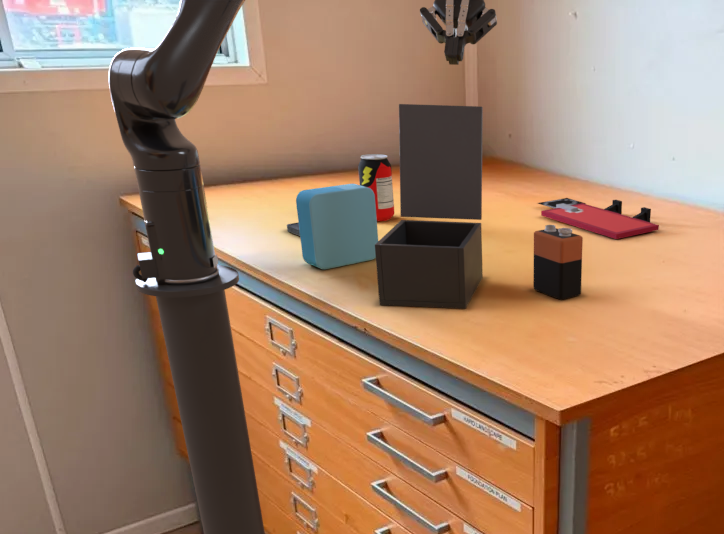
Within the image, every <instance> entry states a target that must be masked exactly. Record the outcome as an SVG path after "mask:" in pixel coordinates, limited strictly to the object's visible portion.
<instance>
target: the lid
mask: <svg viewBox="0 0 724 534" xmlns="http://www.w3.org/2000/svg"><path fill="white" fill-rule="evenodd" d="M483 108H484V107H483V106H481V105H480V106H479V105H478V106H475V105H444V104H443V105H442V104H417V103H416V104H415V103H414V104H413V103H412V104H411V103H408V104H407V103H399V104H398V141H399V201H400V202H399V203H400V204H399V206H400V207H399V209H400V210H399V211H400V217H401V218H423V219H445V220H448V219H449V220H450V219H451V220H476V221H477V220H478V221H481V220H482V217H483V216H482V215H483V118H484V117H483V113H484V112H483V111H484V109H483Z"/></svg>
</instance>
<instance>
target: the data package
mask: <svg viewBox="0 0 724 534" xmlns="http://www.w3.org/2000/svg"><path fill="white" fill-rule="evenodd" d="M295 204H296V213H297V220H298V221H297V223H298V222H299V230H300V236H299V237H300V245H301V255H302V259H303V261H304V262H305V263H306V264H308V265H311V266H313V267H316V268H318V269H320V270H330V269H334V268H335V269H336V268H339V267H345V266H349V265H353V264H359V263H364V262H368V261H374V260H376V255H375V244H376V243H377V242H378V241H379V232H378V231H379V230H378V221H377V218H376V205H375V195H374V192H373V191H372V190H371V189H370V188H368V187H364V186H361V185H360V184H356V183H346V184H339V185H331V186H324V187H316V188H310V189H303V190H300V191H299V192H298V193H297V195H296V199H295Z"/></svg>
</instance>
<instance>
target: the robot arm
mask: <svg viewBox="0 0 724 534" xmlns="http://www.w3.org/2000/svg"><path fill="white" fill-rule="evenodd" d="M245 2H246V0H180V1H179V8H178V11H177V14H176V17H175V19H174V21H173V23H172V25H171V26H170V28H169V29H168V31H167V33H166V34H165V36H164V37H163V39H162V41H160V42H159V44H158V45H157V46H156V47H155V48H145V47H130V48H124V49H122V50H121V51H119V52H117V53H116V54H115V55H114V57H112V60H111V62H110V65H109V69H108V86H109V87H108V88H109V93H110V98H111V102H112V106H113V110H114V115H115V118H116V121H117V126H118V129H119V134H120V137H121V140H122V143H123V145H124V147H125V149H126V151H127V152H128V153H129V155H130V157H131V161H132V166H133V169H134V175H135V179H136V184H137V189H138V194H139V200H140V205H141V210H142V215H143V221H144V226H145V231H146V236H147V241H148V246H149V251H148V252H147V251H146V252H138V253H137V254H136V255H137V260H138V264H136V265H135V267H134V268H133V269H132V275H133V277H134V278H135V279H138V280H141V281H143V282H146V281H147V280H148V278H155V279H156V281H157V285H192V284H199V283H203V282H207V281H211V280H213V279H215V278H217V277H218V276H219V271H218V268H217V265H219V259H218V254H216V252H215V246H214V240H213V234H212V228H211V221H210V214H209V209H208V204H207V197H206V191H205V186H204V179H203V173H202V168H201V162H200V155H199V151H198V148H197V146H196V145H195V144H194V143H193V142H192V141H191V140H189V139H188V137H186V136H185V135H184V134H183V133H182V131H181V130H180V128H179V127H178V125H177V120H178V119H180V118H183V117H185V116H186V115H188V114H190V112H191V111H192V110H193V109H194V107H195V106H196V105H197V102H198V100H199V98H200V96H201V94H202V92H203V89H204V86H205V84H206V81H207V79H208V76H209V74H210V71H211V69H212V67H213V63H214V61H215V59H216V56H217V54H218V52H219V50H220V47H221V45H222V43H223V42H224V40H225V38H226V36H227V34H228V32H229V31H230V29H231V27H232V25H233V23H234V21H235V19H236V18H237V15H238V13H239V11H240V10H241V8H242V6H243V5H244V4H245ZM419 15H420V17H421V21H422V24H423V25H424V26H425V28H426V29H427V30H428V31H429V33H430V34H431V35H432V36H433V38H434V39H435V40H436V41H437V43H439V44H442V45H443V44H444V51H443V54H444V57H445V60H446V62H448V65H450V66H451V65H452V66H453V65H455V66H458V65H460V62H463V60H464V55H465V47H466V46H467V45H468V44H471V45H476V44H477V43H479V41H480V40H482V39H483V38H484V37H485V36H486V35H487V34H489V32H491V30H493V28H495V27H496V26H497V25H498V18H497V12H496V10H495V9H494V8H487V7H486V2H485V0H434V1H433V5H432V6H431V7H429V8H427V7H425V6H422V7H420V9H419ZM437 17H438V18H439V19H440V21H441V23H443V24H444V26H445V29H443V27H442V25H441V24H440V23H439V22H438V21H437Z"/></svg>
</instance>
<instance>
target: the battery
mask: <svg viewBox="0 0 724 534" xmlns="http://www.w3.org/2000/svg"><path fill="white" fill-rule="evenodd" d="M583 242H584V239H583V236H582V235H580V234H577V233H574V232H573V229H572V228H571V227H560V228H557V227H556V225H555V224H546V225H545V227H544V229H539V230H535V231H534V232H533V290H534V291H536V292H539V293H542V294H544V295H547V296H549V297H552V298H554V299H557V300H560V301H562V300H566V299H571V298H574V297H579V296H580V295H581V294H582V274H583V271H582V269H583Z"/></svg>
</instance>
